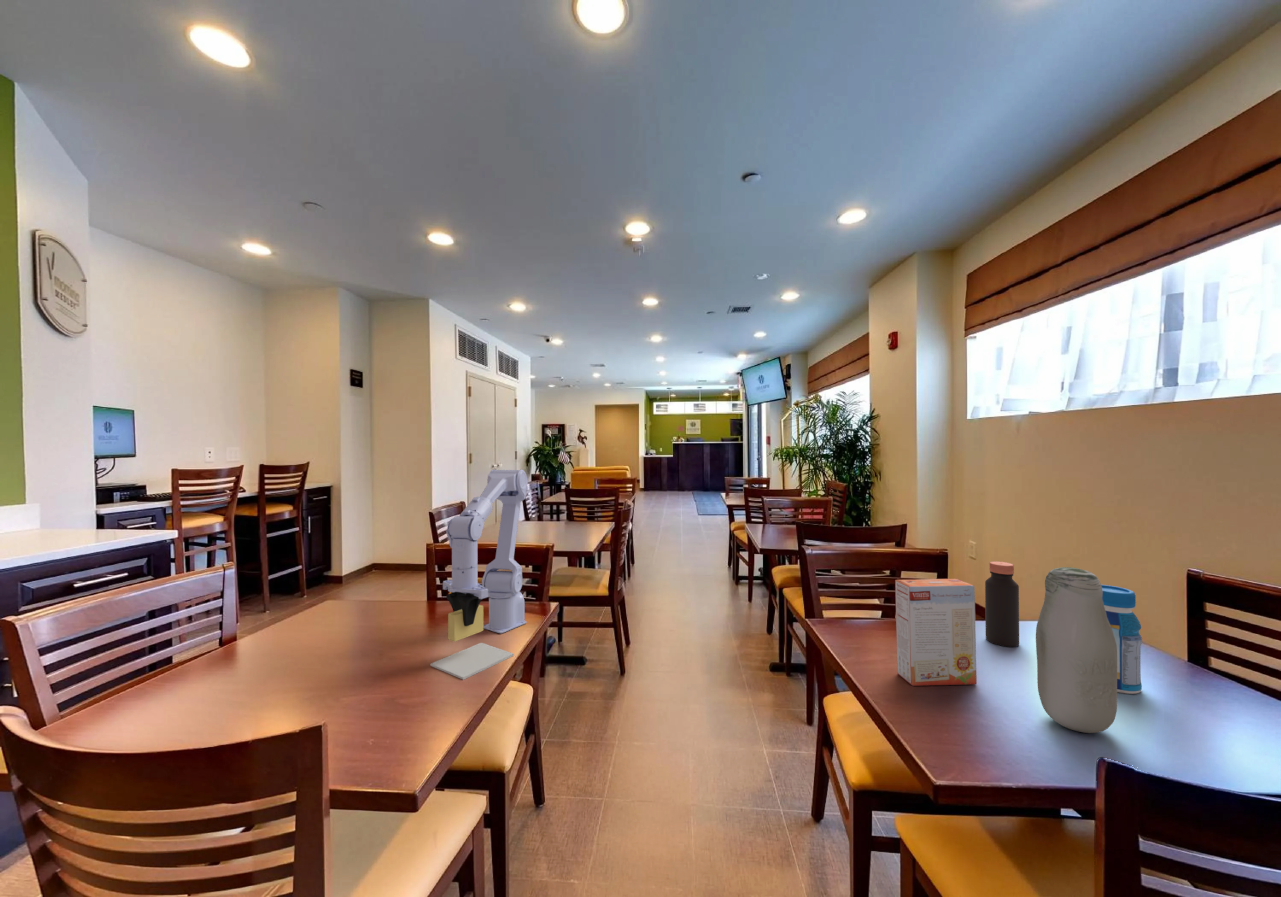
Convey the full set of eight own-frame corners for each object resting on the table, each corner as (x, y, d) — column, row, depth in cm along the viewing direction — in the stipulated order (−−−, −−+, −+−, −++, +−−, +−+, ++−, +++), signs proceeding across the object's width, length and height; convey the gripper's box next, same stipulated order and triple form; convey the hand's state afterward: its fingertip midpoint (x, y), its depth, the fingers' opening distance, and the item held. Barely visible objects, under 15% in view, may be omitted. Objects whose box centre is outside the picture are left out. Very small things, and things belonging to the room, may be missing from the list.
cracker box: (957, 672, 102) (956, 577, 103) (978, 686, 96) (977, 585, 97) (894, 673, 102) (894, 577, 102) (911, 686, 96) (910, 585, 96)
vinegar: (1026, 647, 115) (1025, 566, 115) (998, 647, 115) (997, 566, 115) (1005, 636, 122) (1004, 560, 122) (979, 636, 122) (978, 560, 122)
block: (477, 628, 115) (477, 604, 115) (483, 630, 114) (483, 606, 114) (448, 639, 108) (448, 613, 108) (454, 641, 107) (454, 615, 107)
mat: (481, 644, 118) (481, 642, 118) (513, 655, 112) (513, 653, 112) (430, 665, 106) (430, 663, 106) (463, 679, 100) (463, 677, 100)
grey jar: (1074, 710, 87) (1072, 561, 87) (1134, 744, 77) (1132, 575, 77) (1023, 711, 87) (1021, 561, 87) (1076, 746, 77) (1074, 576, 77)
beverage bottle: (1150, 699, 91) (1149, 597, 91) (1091, 688, 95) (1090, 590, 95) (1133, 681, 98) (1132, 586, 98) (1079, 671, 102) (1078, 581, 103)
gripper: (431, 565, 111) (431, 622, 111) (469, 574, 103) (469, 635, 103) (457, 560, 117) (457, 614, 117) (495, 567, 109) (495, 625, 109)
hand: (464, 623), depth 111 cm, fingers closed on block, 2 cm apart
